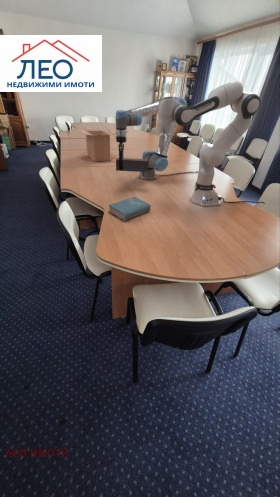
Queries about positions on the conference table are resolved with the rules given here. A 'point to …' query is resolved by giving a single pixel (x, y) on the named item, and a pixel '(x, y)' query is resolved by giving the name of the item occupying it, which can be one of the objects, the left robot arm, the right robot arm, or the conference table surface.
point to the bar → (133, 165)
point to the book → (129, 208)
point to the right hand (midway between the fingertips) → (161, 152)
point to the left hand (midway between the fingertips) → (121, 168)
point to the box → (98, 144)
